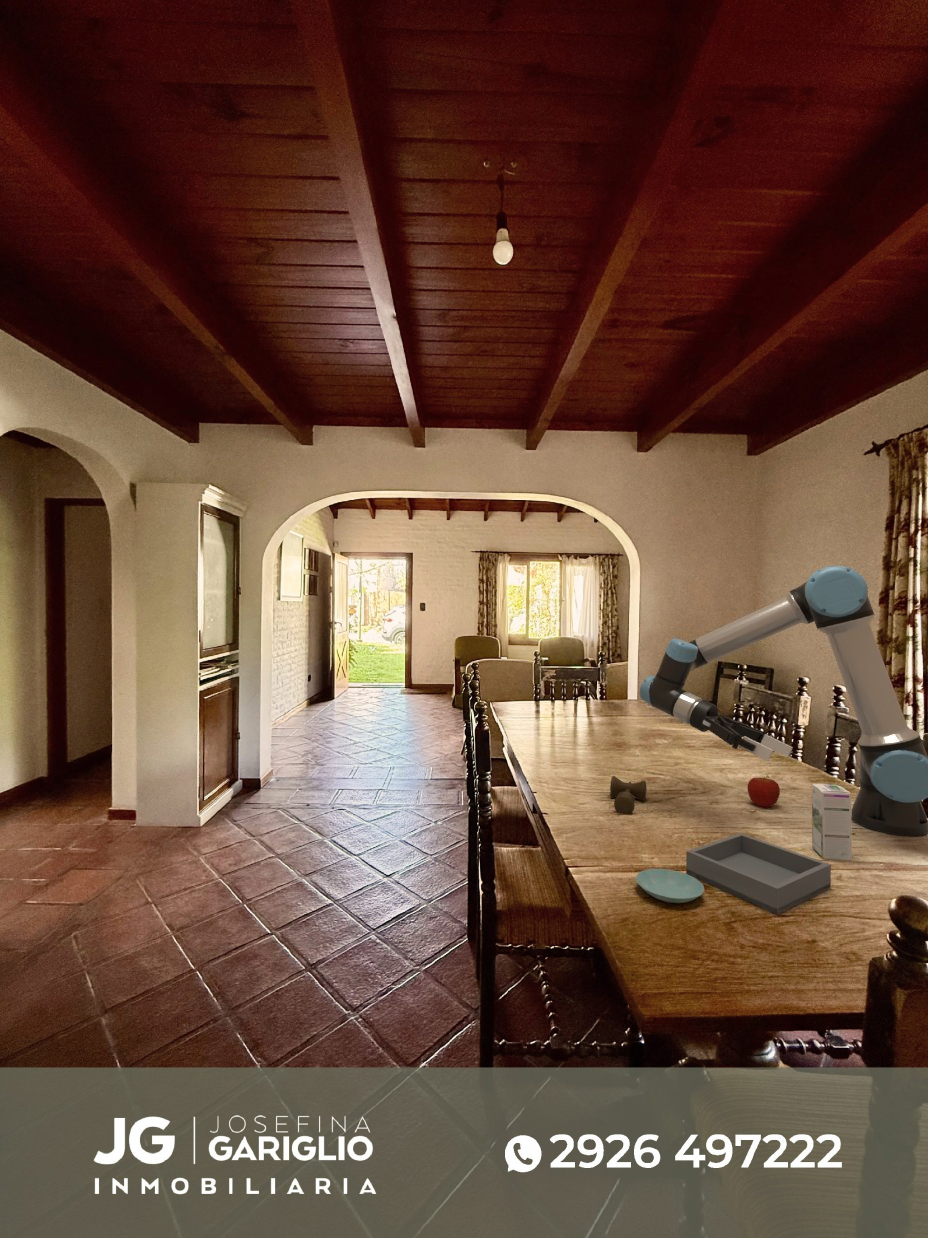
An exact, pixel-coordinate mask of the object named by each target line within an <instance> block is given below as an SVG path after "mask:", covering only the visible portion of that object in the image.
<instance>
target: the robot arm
mask: <svg viewBox="0 0 928 1238" xmlns="http://www.w3.org/2000/svg"><path fill="white" fill-rule="evenodd" d="M866 581H867V580H866V579H865V577H863V576H862V575H861V574H860V573H859V572H858V571H856V570H855V569H852V568H851V567H848V566H843V565H831V566H825V567H823V568H820V569H818V570H816V571H815V572H814V573H813V574H811V575H810V576H809V578H808V579H807V581H805V582H804V583H802V584H801V585H799V586H798V587H796V588H793V589H792V590H789V591H787V594H786V595H785V597H783V598H781V599H779V600H776V601H775V602H772V603H770V604H768V605H766V606H764V607H762V608H760V609H757V610H755V611H753V612H752V613H749V614H747V615H745V616H743V617H741V618H738V619H736V620H734V621H731V622H729V623H727V624H725V625H722V627H719V628H717V629H713V630H712V631H711V632H708V633H706V634H704V635H701V636H699V637H697V638H696V639H692V640H691V641H685V640H683V639H680V638H679V639H678V638H675V637H674V638H672V639H670V641H669V643H668V645H667V647H666V648H665V652H664V655H663V657H662V660H661V662H660V664H659V668H658V670H657V673H656V674H655V676H654V675H649V676H647V677H645V679H644V681H643V682H642V683H641V685H640V688H639V697H640V699H641V700H642V701H644V702H645V703H647V704H648V705H650V706H651V707H653V708H655V709H658V710H660V711H662V712H663V713H666V714H667V715H669V716H672V717H673V718H675V719H678V722H679V723H681V724H682V723H685V724H686V725H690V727H692V728H694V729H696V730H698V731H700V732H702V733H705V732H711V734H714V735H715V736H716V737H717V738H719V739H721V740H722V741H723V742H725V743H727V744H728V745H729V746H731V747H732V748H733V749H735V750H737V749H738V748H740V749H743V750H744V751H746V752H748V753H751V754H753V756H756V757H758V758H760V759H762V760H764V761H766V762H769V761H770V759H771V757H772V755H773V752H775V753H777V754H780V755H781V756H783V757H785V758H786V759H787V758H789V757H790V755H791V752H792V750H793V746H791V745H789V744H786V743H785V742H783V741H780V740H779V739H776V738H775V737H772V736H771V735H768V734H767V733H768V731H767V730H764V729H763V730H760V729H758V728H755V727H752V726H750V725H748V724H746V723H743V722H740V721H737V720H734V719H733V718H731V717H729V716H725V715H722V716H720V715H719V714H718V713H719V708H718V706H717V705H716V704H714V703H712V702H709V701H708V700H706V699H705V700H704V699H703V698H701V697H699V696H697V695H695V694H693V693H691V692H689V691H686V690H684V689H683V688H684V686H685V685H686V682H687V679H688V677H689V675H690V672H692V671H694V670H697V669H698V668H701V667H703V666H705V665H707V664H710V663H711V662H713V661H716V660H719V659H721V658H722V657H725V656H728V655H730V654H733V653H735V652H736V651H739V650H741V649H744V648H746V647H748V646H751V645H753V644H755V643H758V642H760V641H762V640H765V639H767V638H770V637H771V636H774V635H776V634H778V633H781V632H783V631H785V630H787V629H790V628H792V627H794V626H797V625H799V624H806V625H808V624H812V623H814V624H815V627H816V629H817V631H820V632H822V633H824V634H825V635H826V636H827V638H828V642H829V645H830V647H831V650H832V653H833V655H834V659H835V661H836V665H837V666H838V670H839V672H840V674H841V677H842V681H843V683H844V685H845V689H846V691H847V694H848V697H849V700H850V702H851V707H852V708H853V711H854V714H855V717H856V719H857V722H858V725H859V728H860V730H861V732H860V738H859V739H858V741H857V744H858V747H859V750H860V755H859V756H860V757H859V759H860V763H859V764H860V766H859V768H860V769H859V771H860V772H859V774H860V775H859V782H860V783H859V790H858V793H857V796H856V798H855V800H854V803H853V805H852V806H851V821H853V822H855V823H856V824H858V825H860V826H862V827H865V828H867V829H870V830H874V831H876V832H877V831H878V832H881V833H886V834H892V835H899V836H907V837H911V836H912V837H919V835H921V836H925V835H928V817H927V815H926V812H925V809H924V807H923V804H922V802H921V801H923V800H926V799H928V754H927V752H926V749H925V746H924V743H923V740H922V738H921V735H920V733H919V732H918V731H916V730H913V729H912V728H910V727H909V726H908V724H907V721H906V719H905V716H904V713H903V711H902V708H901V705H900V703H899V702H900V701H899V700H898V697H897V694H896V691H895V689H894V686H893V683H892V681H891V679H890V675H889V673H888V670H887V668H886V665H885V662H884V659H883V657H882V653H881V651H880V648H879V645H878V644H877V640H876V637H875V635H874V632H873V630H872V627H871V622H872V621H873V619H874V618H875V615H876V614H875V612H874V609H873V607H872V604H871V601H870V599H869V596H868V594H869V590H868V588H869V587H868V583H867V582H866Z"/></svg>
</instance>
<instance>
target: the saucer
mask: <svg viewBox="0 0 928 1238" xmlns="http://www.w3.org/2000/svg"><path fill="white" fill-rule="evenodd" d="M635 882H636V883H637V884H638V885H639V887H640V888H641V889H643V891H644V892H646V893H647V894H648V895H650V896H651V897H653V898H655V899H657V900H658V901H662V902H664V903H669V904H684V903H688V902H692V901H694V900H695V899H696V900H697V898H698V897H700V896H702V894H704V892H705V887H704V884H703V883H702V882H700V880H699V879H697V878H694V877H692V876H690V875H688V874H686V873H684V872H681V871H677V870H672V869H668V868H667V869H666V868H665V869H664V868H649V869H648V868H647V869H645V870H642V871H640V872H638V873H637V874H636V875H635Z"/></svg>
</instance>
